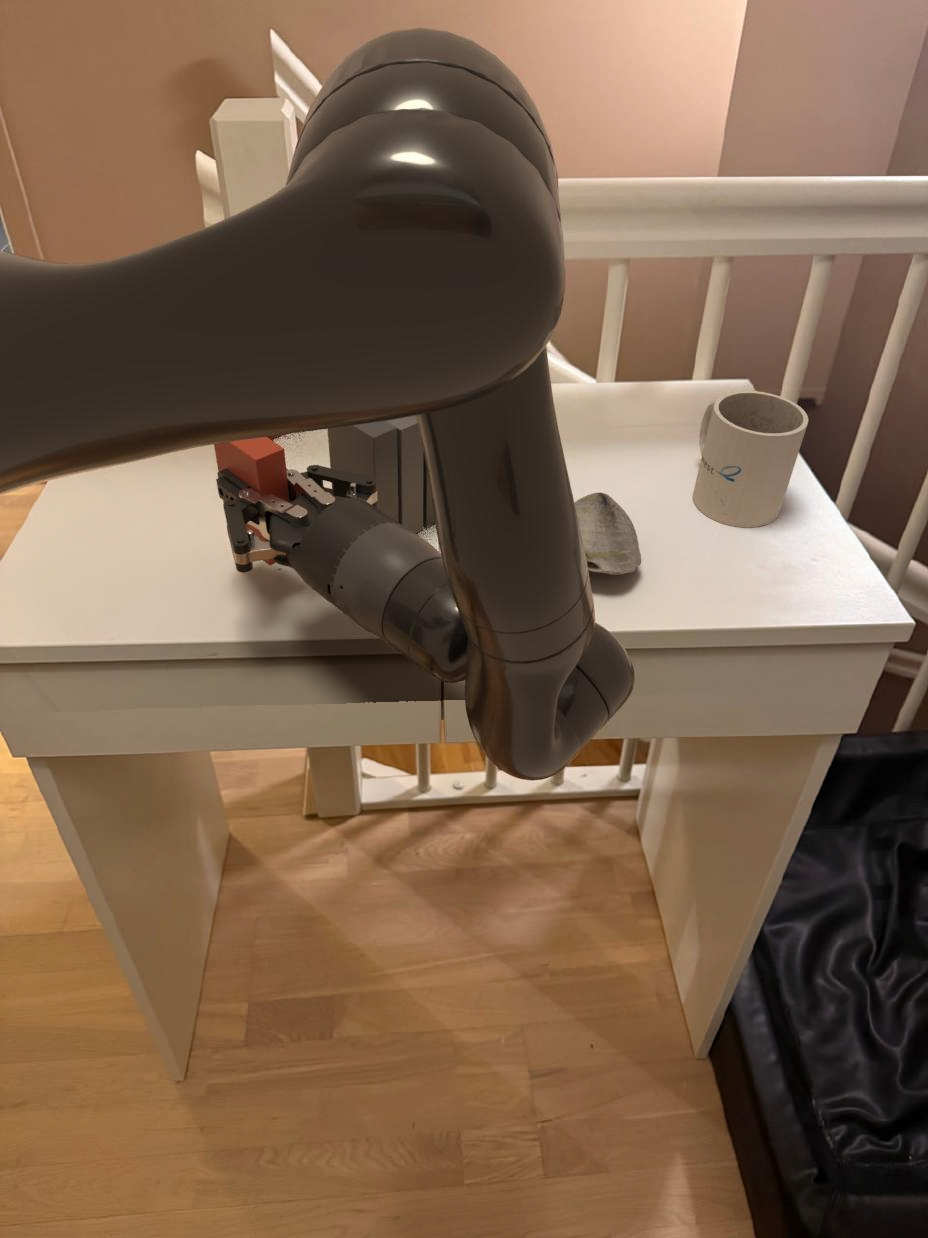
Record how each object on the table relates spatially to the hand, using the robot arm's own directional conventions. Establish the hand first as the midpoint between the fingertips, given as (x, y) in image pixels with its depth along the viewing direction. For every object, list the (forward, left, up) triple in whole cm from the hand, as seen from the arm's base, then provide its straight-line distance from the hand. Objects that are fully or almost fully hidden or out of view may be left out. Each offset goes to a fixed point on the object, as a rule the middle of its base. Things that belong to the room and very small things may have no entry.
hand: (239, 473), depth 73 cm
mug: (+47, -7, -10) cm, 49 cm away
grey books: (+14, +2, -10) cm, 17 cm away
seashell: (+29, -10, -10) cm, 32 cm away
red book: (+1, -2, -6) cm, 6 cm away
